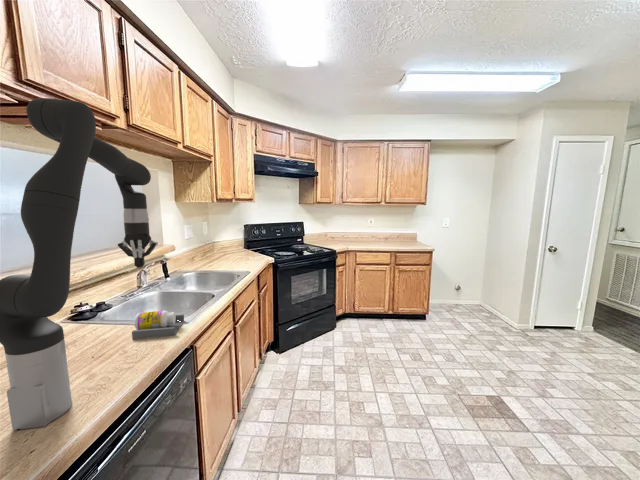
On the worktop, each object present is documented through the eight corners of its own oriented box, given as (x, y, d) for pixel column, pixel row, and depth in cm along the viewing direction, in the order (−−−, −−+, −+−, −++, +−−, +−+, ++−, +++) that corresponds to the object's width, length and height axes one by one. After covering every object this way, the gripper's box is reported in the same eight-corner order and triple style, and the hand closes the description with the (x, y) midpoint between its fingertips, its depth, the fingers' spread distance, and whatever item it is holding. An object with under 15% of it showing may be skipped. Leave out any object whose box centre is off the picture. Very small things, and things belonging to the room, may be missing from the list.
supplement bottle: (137, 309, 104) (174, 305, 107) (141, 320, 107) (177, 316, 111) (132, 323, 98) (171, 319, 102) (136, 334, 102) (174, 330, 106)
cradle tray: (174, 335, 100) (174, 328, 100) (132, 339, 97) (131, 331, 97) (184, 320, 113) (183, 314, 112) (147, 323, 110) (146, 316, 109)
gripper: (110, 221, 93) (114, 270, 95) (152, 221, 96) (156, 269, 98) (120, 220, 100) (124, 265, 103) (160, 220, 103) (162, 264, 106)
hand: (140, 267), depth 101 cm, fingers closed
